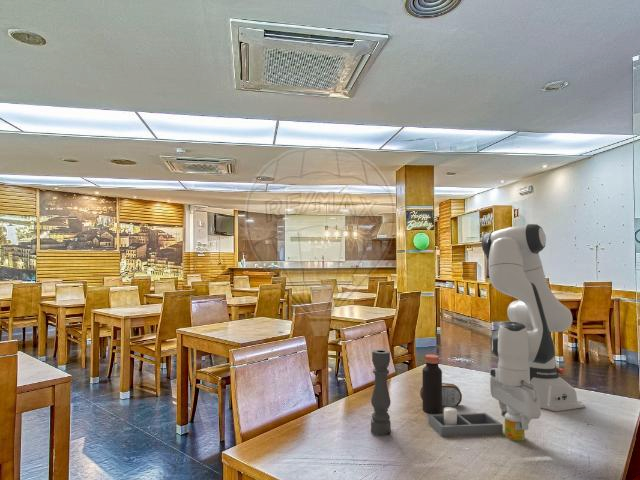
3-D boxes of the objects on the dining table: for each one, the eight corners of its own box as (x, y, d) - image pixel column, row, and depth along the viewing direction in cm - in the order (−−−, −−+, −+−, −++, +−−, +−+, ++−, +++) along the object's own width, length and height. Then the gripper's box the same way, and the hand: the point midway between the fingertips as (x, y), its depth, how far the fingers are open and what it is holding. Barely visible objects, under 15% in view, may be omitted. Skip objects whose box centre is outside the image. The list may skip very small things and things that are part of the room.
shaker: (453, 425, 131) (453, 407, 131) (459, 431, 127) (459, 411, 127) (441, 426, 130) (441, 407, 131) (447, 431, 126) (447, 412, 127)
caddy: (485, 423, 136) (485, 412, 136) (502, 436, 126) (502, 424, 126) (428, 425, 133) (428, 414, 133) (441, 438, 123) (441, 427, 123)
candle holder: (392, 429, 130) (392, 350, 131) (388, 437, 124) (389, 354, 125) (373, 426, 132) (373, 348, 133) (368, 434, 126) (369, 352, 127)
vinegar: (443, 411, 146) (443, 355, 147) (440, 417, 140) (440, 359, 141) (424, 408, 149) (424, 353, 150) (420, 414, 143) (420, 356, 144)
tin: (460, 405, 152) (460, 383, 153) (462, 408, 149) (462, 385, 149) (419, 404, 154) (419, 381, 154) (421, 407, 151) (421, 383, 151)
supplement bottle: (501, 436, 125) (501, 404, 126) (518, 436, 126) (517, 404, 126) (511, 444, 120) (510, 410, 121) (528, 443, 120) (527, 410, 121)
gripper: (546, 386, 114) (547, 436, 113) (504, 367, 134) (504, 410, 134) (525, 387, 113) (526, 437, 113) (486, 368, 134) (486, 410, 133)
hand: (514, 422), depth 123 cm, fingers open, 8 cm apart
